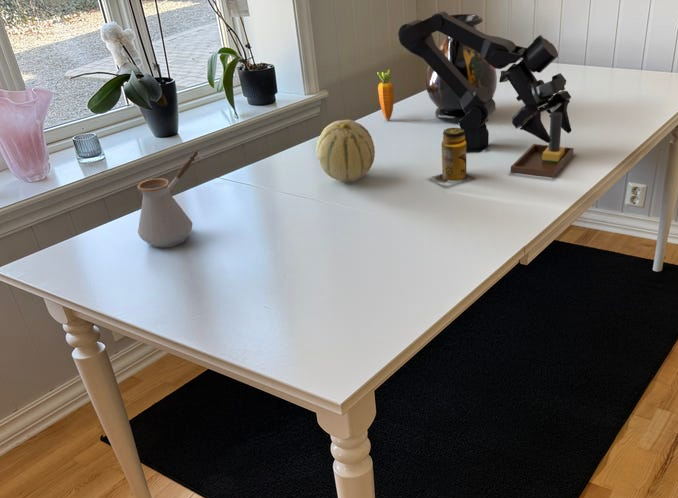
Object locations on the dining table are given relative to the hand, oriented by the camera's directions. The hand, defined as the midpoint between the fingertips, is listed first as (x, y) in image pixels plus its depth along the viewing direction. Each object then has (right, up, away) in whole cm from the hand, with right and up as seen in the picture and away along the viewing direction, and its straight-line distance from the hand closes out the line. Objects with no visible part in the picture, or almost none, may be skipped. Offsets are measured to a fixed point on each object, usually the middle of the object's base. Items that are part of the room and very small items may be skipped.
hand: (559, 136), depth 175 cm
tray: (-4, -6, +3) cm, 8 cm away
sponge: (-1, -4, +4) cm, 6 cm away
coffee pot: (-89, -28, -20) cm, 95 cm away
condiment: (-28, -11, -2) cm, 30 cm away
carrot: (-45, +18, +40) cm, 63 cm away
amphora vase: (-22, +19, +40) cm, 50 cm away
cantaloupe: (-54, -11, +1) cm, 55 cm away
